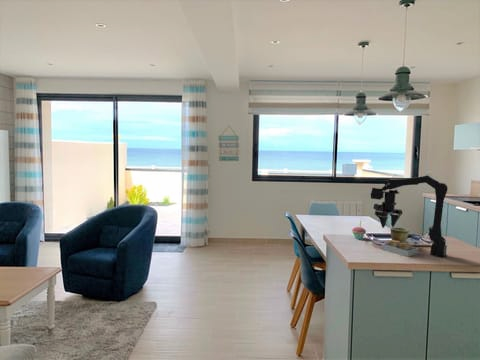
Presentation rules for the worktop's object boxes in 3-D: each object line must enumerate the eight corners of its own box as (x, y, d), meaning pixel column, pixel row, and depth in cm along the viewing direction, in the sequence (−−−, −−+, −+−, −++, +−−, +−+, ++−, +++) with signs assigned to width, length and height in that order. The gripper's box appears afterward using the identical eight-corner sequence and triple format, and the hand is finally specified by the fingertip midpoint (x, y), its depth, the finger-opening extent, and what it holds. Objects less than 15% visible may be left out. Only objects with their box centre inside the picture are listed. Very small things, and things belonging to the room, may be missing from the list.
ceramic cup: (410, 248, 196) (412, 231, 195) (393, 247, 196) (394, 230, 195) (400, 242, 209) (401, 226, 208) (384, 241, 209) (385, 226, 208)
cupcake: (354, 235, 222) (355, 218, 222) (367, 238, 217) (368, 220, 216) (349, 238, 216) (350, 219, 215) (362, 240, 210) (364, 221, 210)
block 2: (411, 252, 184) (412, 244, 184) (406, 253, 182) (407, 245, 182) (403, 250, 188) (404, 242, 188) (399, 251, 186) (399, 243, 185)
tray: (418, 253, 184) (419, 248, 184) (407, 256, 178) (407, 251, 178) (392, 246, 198) (392, 241, 197) (380, 249, 192) (381, 243, 192)
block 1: (399, 249, 190) (400, 241, 190) (395, 250, 188) (395, 242, 187) (392, 247, 194) (392, 239, 194) (387, 248, 192) (388, 240, 191)
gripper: (386, 198, 206) (384, 222, 207) (367, 199, 196) (365, 225, 197) (403, 200, 197) (401, 226, 198) (384, 202, 186) (382, 229, 188)
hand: (387, 226), depth 195 cm, fingers open, 9 cm apart
